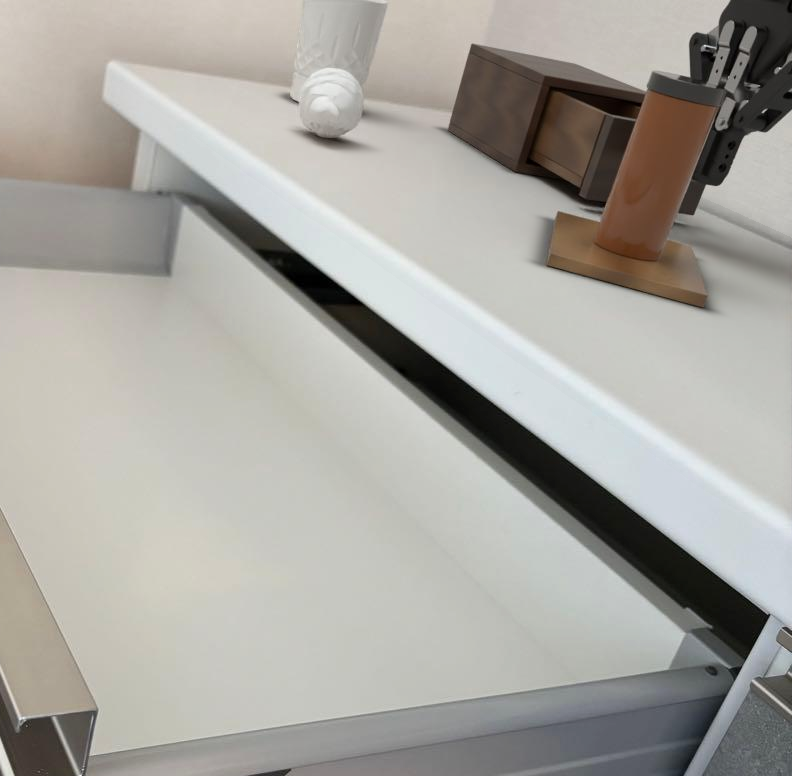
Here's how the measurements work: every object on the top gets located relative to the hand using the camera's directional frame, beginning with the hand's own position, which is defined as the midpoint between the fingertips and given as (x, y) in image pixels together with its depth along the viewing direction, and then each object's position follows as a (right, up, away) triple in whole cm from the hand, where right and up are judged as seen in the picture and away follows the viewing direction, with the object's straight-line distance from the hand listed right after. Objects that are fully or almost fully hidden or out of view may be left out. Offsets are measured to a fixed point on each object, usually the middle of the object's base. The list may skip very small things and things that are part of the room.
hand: (703, 182), depth 82 cm
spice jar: (-8, -7, -7) cm, 13 cm away
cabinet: (-7, +10, +23) cm, 26 cm away
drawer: (-3, +3, +11) cm, 12 cm away
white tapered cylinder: (-27, +16, +26) cm, 40 cm away
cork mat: (-8, -8, -7) cm, 13 cm away
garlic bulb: (-28, +7, +10) cm, 30 cm away
